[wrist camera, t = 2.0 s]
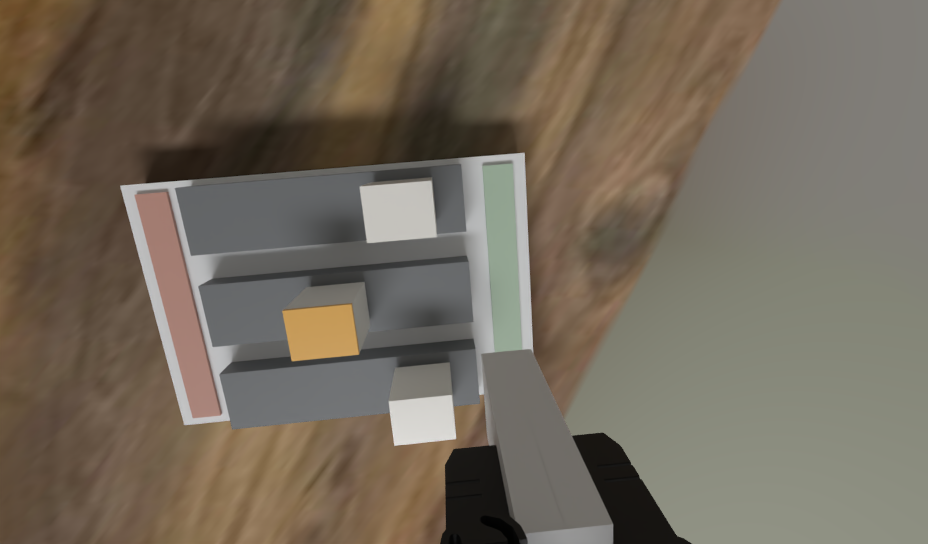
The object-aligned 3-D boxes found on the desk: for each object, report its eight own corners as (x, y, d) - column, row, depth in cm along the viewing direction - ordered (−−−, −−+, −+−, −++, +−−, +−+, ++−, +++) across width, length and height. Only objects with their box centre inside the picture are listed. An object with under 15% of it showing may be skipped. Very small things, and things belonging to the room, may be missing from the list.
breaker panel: (201, 407, 28) (169, 440, 25) (144, 183, 25) (99, 187, 21) (528, 373, 29) (540, 402, 26) (517, 153, 26) (530, 152, 22)
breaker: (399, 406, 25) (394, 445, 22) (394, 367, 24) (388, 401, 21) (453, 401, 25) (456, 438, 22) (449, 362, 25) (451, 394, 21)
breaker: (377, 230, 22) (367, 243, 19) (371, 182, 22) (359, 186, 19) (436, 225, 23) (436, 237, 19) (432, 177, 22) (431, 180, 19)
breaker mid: (313, 330, 24) (291, 361, 20) (305, 287, 23) (282, 310, 19) (370, 325, 24) (359, 354, 20) (364, 281, 23) (351, 304, 20)
